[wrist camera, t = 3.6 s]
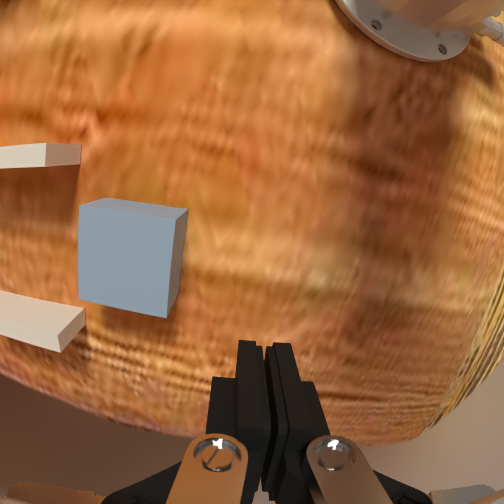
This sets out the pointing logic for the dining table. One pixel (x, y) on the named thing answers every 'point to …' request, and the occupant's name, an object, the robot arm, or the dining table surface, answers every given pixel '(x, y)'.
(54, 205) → the dining table surface
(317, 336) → the dining table surface
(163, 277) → the block
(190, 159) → the dining table surface
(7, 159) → the two-pronged grey tray
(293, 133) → the dining table surface
